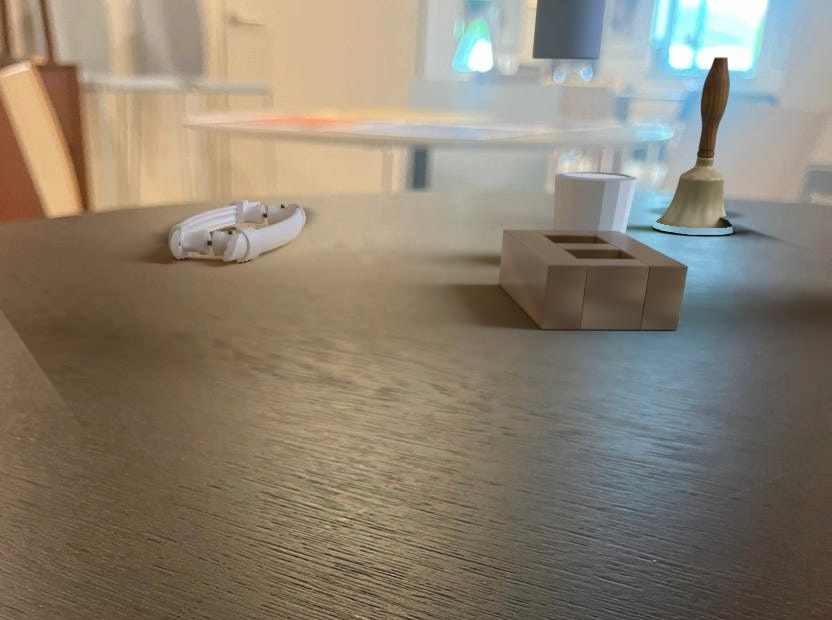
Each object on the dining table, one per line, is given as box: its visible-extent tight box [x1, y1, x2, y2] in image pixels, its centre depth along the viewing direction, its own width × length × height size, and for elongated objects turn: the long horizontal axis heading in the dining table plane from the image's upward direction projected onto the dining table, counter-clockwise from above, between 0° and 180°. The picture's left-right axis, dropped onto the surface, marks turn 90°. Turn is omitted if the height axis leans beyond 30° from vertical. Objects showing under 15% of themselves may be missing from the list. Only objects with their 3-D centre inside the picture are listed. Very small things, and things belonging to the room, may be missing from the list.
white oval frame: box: [168, 199, 307, 263], centre depth 94 cm, size 3×10×25 cm
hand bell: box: [655, 56, 733, 228], centre depth 104 cm, size 8×8×16 cm
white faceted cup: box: [553, 171, 638, 235], centre depth 87 cm, size 7×7×7 cm
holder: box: [498, 229, 689, 331], centre depth 72 cm, size 9×16×4 cm, turn 3°
